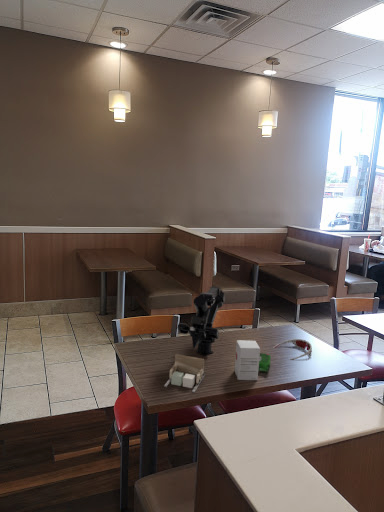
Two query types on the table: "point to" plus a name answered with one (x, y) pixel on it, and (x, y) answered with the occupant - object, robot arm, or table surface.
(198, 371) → the toy sofa
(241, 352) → the supplement box
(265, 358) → the snack package
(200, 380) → the steel handle
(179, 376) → the sage block
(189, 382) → the cream block
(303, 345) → the sunglasses
